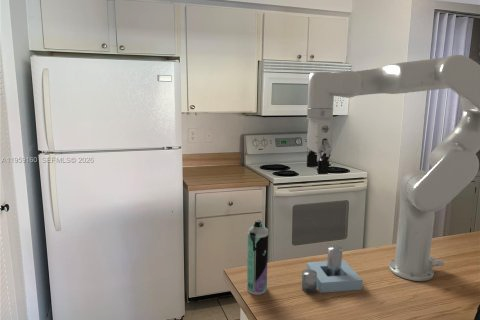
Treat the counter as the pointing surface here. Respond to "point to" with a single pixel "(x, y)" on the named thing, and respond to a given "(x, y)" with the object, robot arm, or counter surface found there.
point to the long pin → (334, 260)
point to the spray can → (257, 259)
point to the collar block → (335, 278)
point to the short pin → (309, 281)
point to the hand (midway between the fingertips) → (317, 170)
